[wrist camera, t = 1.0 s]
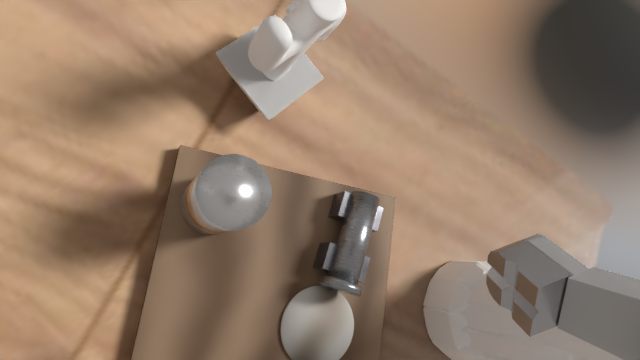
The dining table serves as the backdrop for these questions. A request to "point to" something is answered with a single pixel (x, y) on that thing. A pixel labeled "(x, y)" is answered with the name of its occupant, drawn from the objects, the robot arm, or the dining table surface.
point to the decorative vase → (489, 322)
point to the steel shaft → (349, 241)
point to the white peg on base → (281, 54)
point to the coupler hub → (226, 195)
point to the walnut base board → (260, 280)
